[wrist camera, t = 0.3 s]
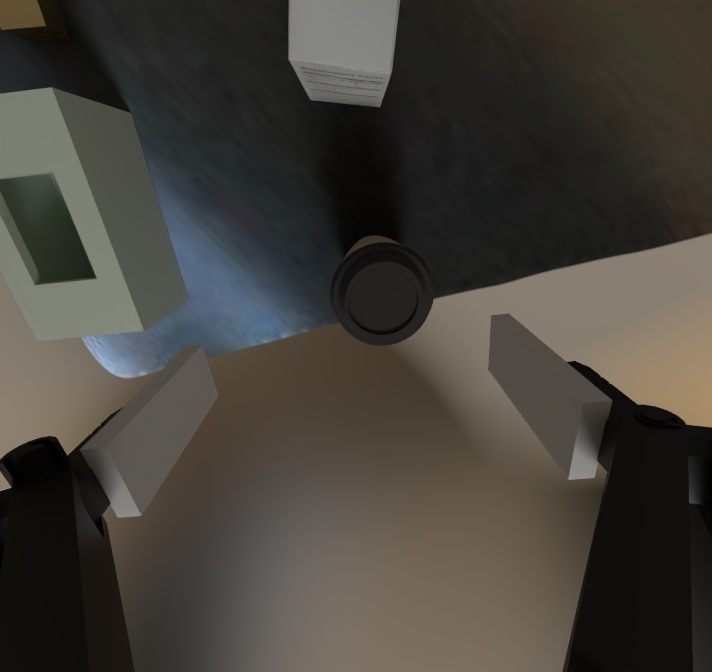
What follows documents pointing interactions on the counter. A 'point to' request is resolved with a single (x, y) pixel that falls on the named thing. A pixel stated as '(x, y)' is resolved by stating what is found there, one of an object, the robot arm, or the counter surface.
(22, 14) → the tan wooden block
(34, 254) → the grey box with slot
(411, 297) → the coffee cup
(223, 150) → the counter surface
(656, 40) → the counter surface
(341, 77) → the supplement box
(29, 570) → the robot arm
